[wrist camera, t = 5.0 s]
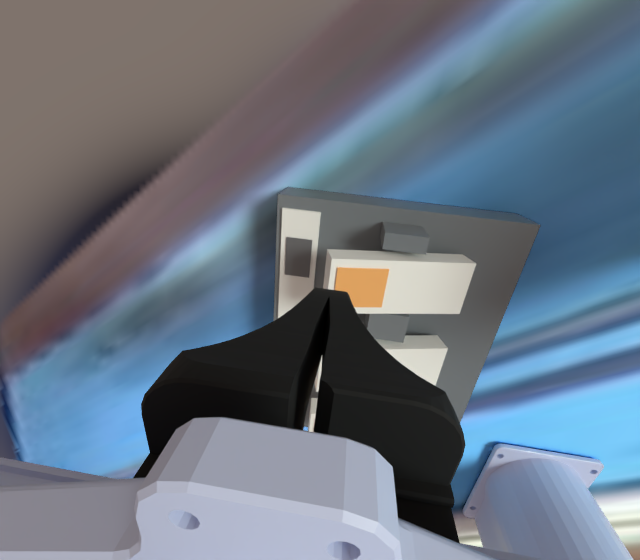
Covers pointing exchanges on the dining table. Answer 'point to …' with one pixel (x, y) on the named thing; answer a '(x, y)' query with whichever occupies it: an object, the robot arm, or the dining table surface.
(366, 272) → the rocker
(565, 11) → the dining table surface
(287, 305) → the switch unit
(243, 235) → the dining table surface
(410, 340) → the rocker middle
